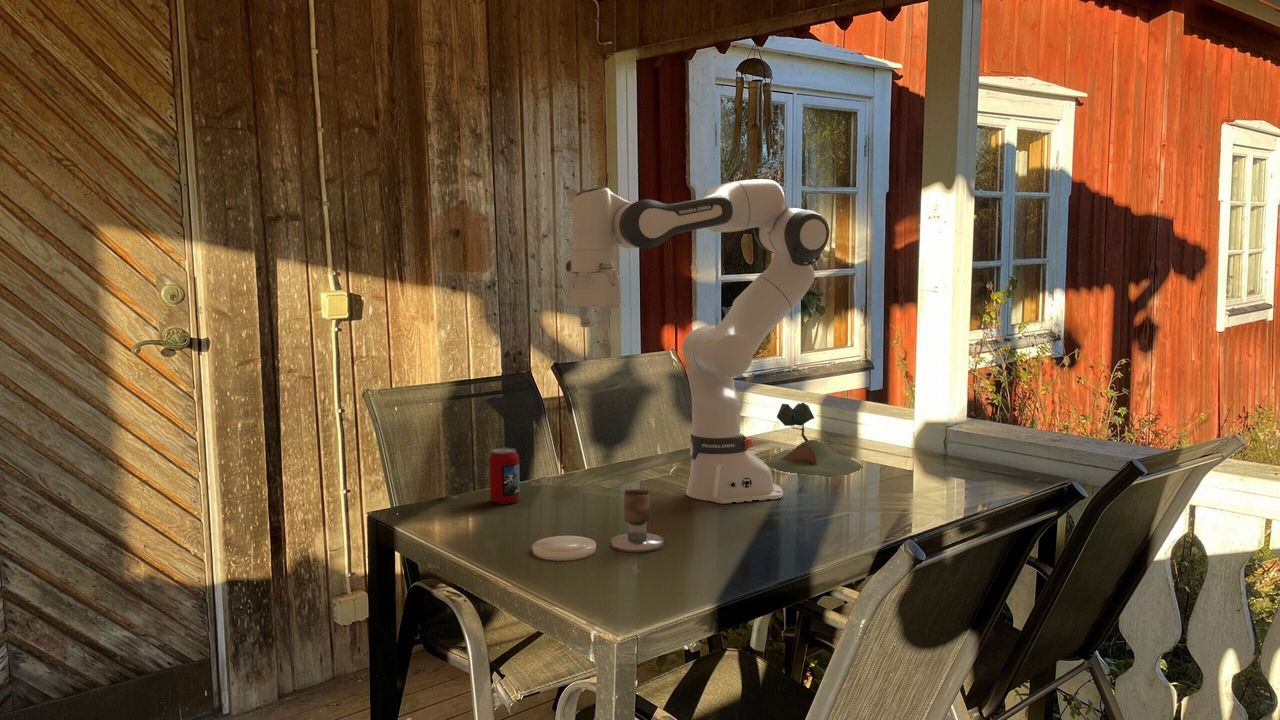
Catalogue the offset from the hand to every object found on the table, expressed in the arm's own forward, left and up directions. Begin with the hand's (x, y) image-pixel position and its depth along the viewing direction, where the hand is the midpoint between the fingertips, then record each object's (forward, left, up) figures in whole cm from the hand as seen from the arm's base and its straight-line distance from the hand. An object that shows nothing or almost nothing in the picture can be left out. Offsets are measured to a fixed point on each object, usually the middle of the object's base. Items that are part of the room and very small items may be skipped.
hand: (594, 328), depth 206 cm
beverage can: (+21, -11, -40) cm, 46 cm away
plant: (-58, -41, -41) cm, 82 cm away
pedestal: (-6, +27, -40) cm, 49 cm away
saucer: (+8, +29, -40) cm, 50 cm away
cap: (-6, +27, -35) cm, 45 cm away
